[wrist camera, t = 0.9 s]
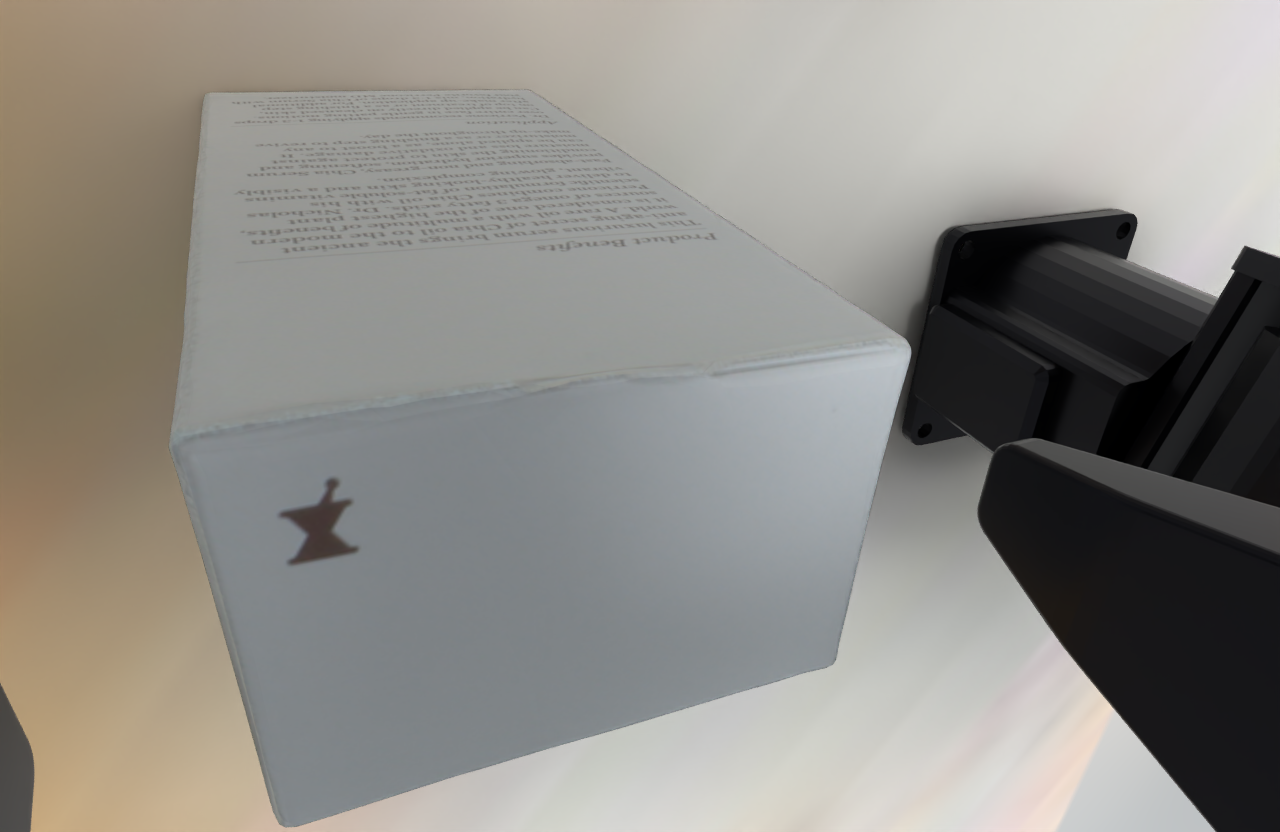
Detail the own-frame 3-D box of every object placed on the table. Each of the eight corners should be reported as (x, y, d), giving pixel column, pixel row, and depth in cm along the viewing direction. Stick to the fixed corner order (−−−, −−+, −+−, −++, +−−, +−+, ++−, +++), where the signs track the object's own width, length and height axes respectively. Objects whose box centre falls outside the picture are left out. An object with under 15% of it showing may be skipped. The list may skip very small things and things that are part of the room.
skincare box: (243, 315, 17) (252, 853, 7) (200, 86, 15) (136, 428, 5) (541, 288, 19) (847, 678, 10) (541, 84, 17) (933, 325, 7)
